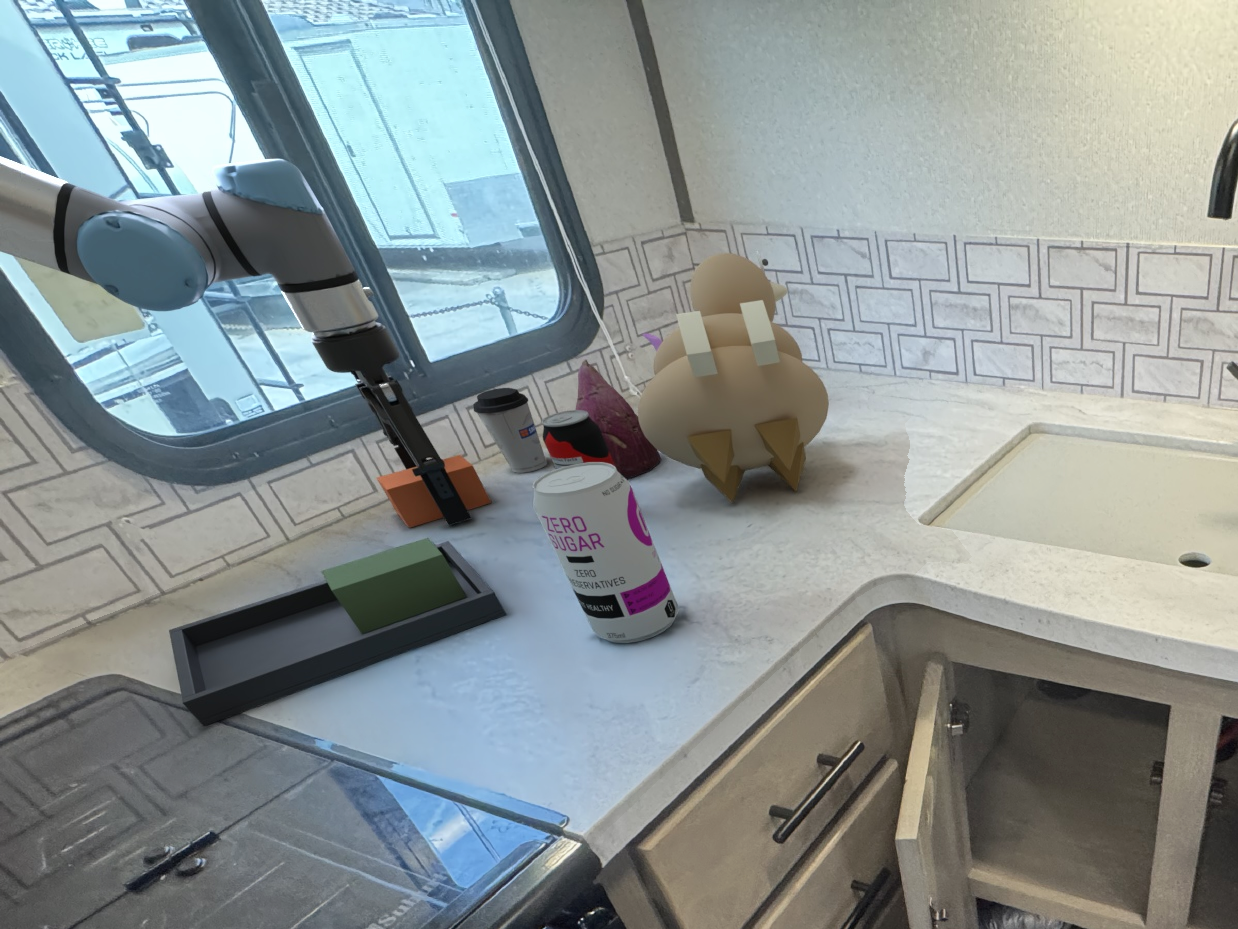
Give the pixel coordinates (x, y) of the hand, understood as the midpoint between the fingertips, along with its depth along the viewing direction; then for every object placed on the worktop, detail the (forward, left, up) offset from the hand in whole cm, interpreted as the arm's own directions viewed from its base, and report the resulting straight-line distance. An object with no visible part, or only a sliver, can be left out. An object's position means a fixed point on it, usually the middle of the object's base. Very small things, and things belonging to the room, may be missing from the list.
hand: (446, 507), depth 110 cm
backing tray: (+28, -16, 0) cm, 32 cm away
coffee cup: (-7, +13, 0) cm, 15 cm away
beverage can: (+20, +14, 0) cm, 24 cm away
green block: (+28, -10, 0) cm, 30 cm away
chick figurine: (+26, +32, 0) cm, 41 cm away
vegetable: (+5, +22, 0) cm, 22 cm away
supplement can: (+50, +6, 0) cm, 50 cm away
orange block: (0, 0, 0) cm, 0 cm away
